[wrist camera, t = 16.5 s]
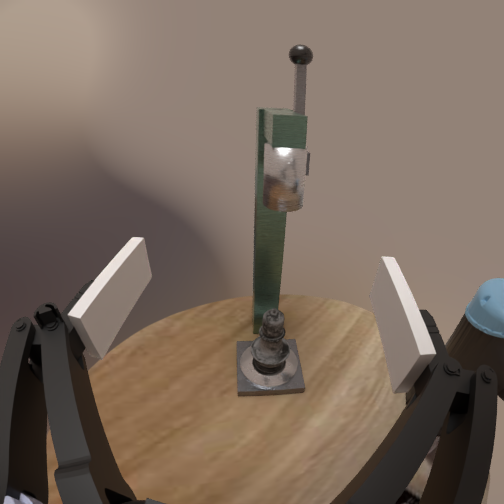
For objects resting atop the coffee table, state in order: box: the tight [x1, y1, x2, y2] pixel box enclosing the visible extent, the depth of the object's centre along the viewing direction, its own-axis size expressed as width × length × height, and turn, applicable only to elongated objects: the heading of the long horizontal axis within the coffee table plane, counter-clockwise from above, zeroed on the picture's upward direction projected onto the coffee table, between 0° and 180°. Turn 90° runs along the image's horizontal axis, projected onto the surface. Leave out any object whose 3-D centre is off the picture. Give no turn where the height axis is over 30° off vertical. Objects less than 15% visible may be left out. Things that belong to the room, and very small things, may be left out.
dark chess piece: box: [251, 308, 290, 376], centre depth 38 cm, size 6×6×12 cm
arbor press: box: [237, 45, 313, 396], centre depth 33 cm, size 10×17×46 cm, turn 3°
